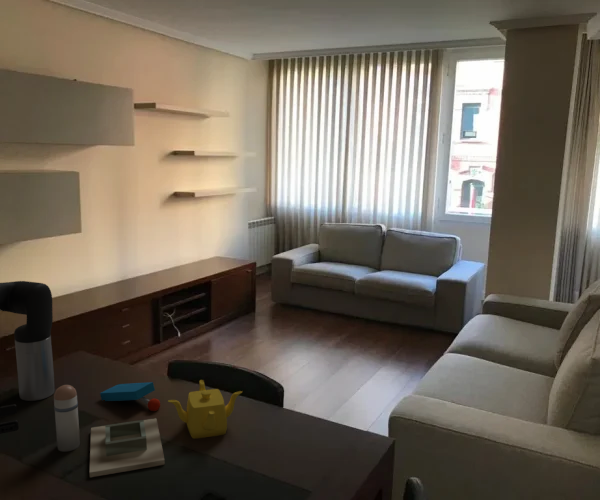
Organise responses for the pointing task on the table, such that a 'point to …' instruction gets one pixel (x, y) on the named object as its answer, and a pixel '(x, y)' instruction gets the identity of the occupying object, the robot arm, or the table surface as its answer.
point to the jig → (125, 447)
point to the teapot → (206, 412)
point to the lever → (132, 394)
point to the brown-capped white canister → (66, 418)
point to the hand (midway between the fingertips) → (17, 416)
